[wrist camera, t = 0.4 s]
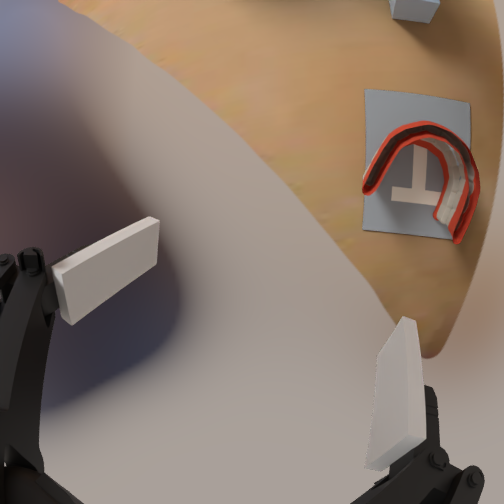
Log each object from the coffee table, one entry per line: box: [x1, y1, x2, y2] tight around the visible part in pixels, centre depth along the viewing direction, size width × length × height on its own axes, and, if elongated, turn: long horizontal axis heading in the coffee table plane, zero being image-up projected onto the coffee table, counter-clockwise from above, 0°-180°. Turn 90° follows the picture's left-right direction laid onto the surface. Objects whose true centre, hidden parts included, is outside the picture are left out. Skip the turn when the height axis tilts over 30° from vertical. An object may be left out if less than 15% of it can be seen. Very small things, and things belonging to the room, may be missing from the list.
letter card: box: [362, 89, 470, 240], centre depth 31 cm, size 18×14×1 cm
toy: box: [362, 120, 480, 244], centre depth 27 cm, size 12×10×8 cm
